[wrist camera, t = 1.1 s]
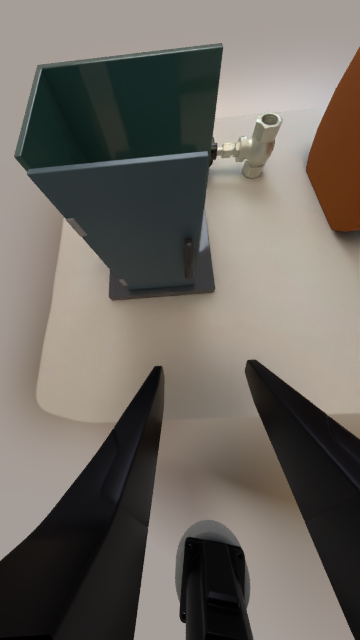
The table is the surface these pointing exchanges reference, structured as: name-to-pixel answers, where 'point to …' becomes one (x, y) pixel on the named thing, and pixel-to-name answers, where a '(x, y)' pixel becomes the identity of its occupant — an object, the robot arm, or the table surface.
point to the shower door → (135, 213)
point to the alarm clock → (339, 154)
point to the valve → (252, 145)
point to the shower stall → (126, 123)
